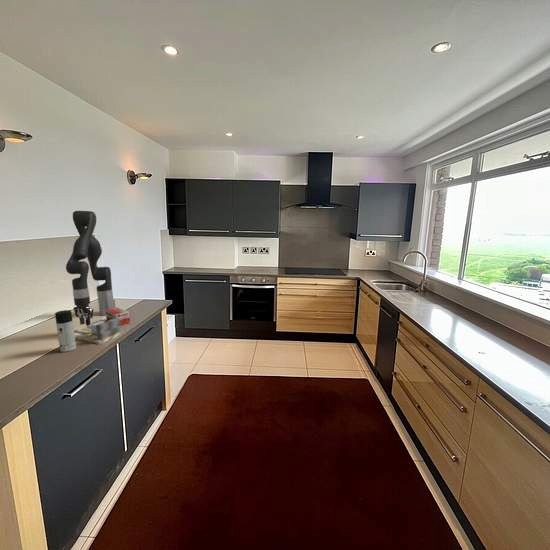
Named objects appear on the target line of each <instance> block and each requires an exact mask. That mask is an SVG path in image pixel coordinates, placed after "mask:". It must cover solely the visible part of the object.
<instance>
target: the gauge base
mask: <svg viewBox="0 0 550 550" xmlns="http://www.w3.org/2000/svg"><path fill="white" fill-rule="evenodd" d="M96 330H97V334H91V333H92V330H91V325H89V326H86V327H84V328H81V329H77V330H76V329H74V335H75V340H78V341H83V342H87V343H93V344H97V345H101V344H104V343H105V342H107V341H110V340H113V339H114V338H117V337H119V336H123V335H124V334H125V330H123V329H122V328H121V325H120V320H119V319H118V318H115V319H112V320H109V321H107V320H106V321H103V323H101V324H98V325H96ZM88 334H91V335H89V336H87V335H88Z"/></svg>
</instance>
